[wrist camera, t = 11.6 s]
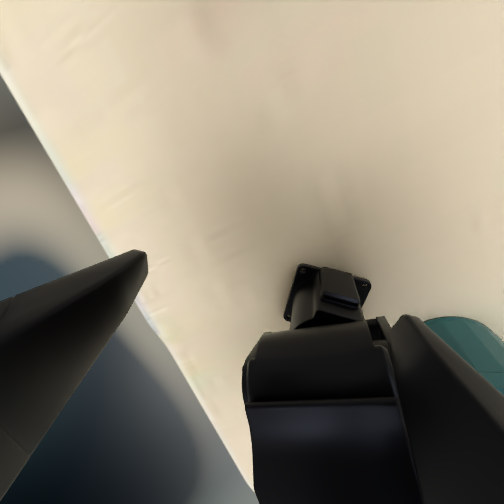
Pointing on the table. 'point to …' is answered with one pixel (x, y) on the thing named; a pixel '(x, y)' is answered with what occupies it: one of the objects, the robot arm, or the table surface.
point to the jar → (473, 346)
